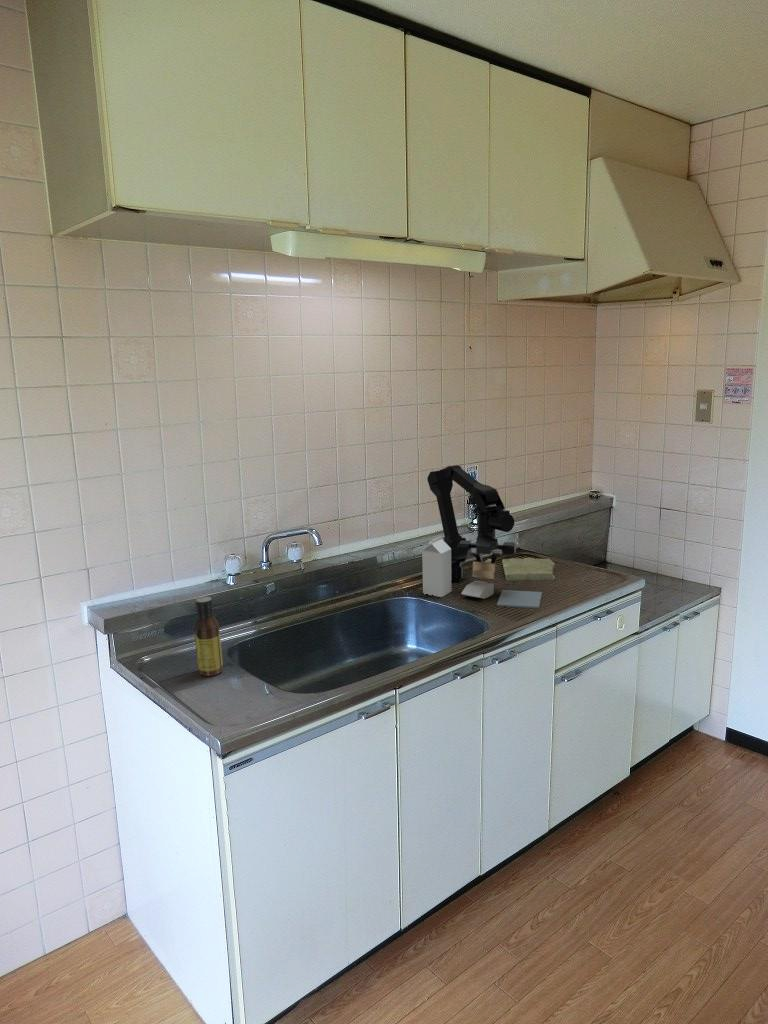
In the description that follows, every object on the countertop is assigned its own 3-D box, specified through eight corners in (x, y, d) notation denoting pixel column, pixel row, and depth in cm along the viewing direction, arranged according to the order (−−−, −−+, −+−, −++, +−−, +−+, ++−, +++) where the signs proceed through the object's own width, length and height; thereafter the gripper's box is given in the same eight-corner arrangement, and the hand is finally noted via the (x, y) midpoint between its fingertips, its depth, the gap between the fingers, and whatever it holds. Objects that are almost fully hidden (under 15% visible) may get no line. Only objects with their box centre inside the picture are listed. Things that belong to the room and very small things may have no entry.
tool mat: (496, 606, 231) (496, 604, 231) (502, 591, 245) (502, 589, 245) (538, 608, 227) (538, 606, 227) (541, 593, 241) (541, 592, 241)
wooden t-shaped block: (472, 576, 241) (472, 562, 240) (481, 569, 251) (482, 555, 250) (493, 579, 238) (493, 564, 237) (501, 571, 248) (502, 557, 247)
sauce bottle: (207, 666, 191) (201, 593, 187) (228, 669, 189) (222, 595, 185) (192, 676, 185) (186, 601, 181) (213, 679, 183) (207, 603, 179)
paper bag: (475, 580, 246) (460, 588, 238) (493, 583, 242) (479, 591, 234) (475, 590, 247) (460, 599, 239) (493, 594, 243) (479, 602, 235)
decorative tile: (505, 581, 257) (505, 572, 257) (502, 566, 277) (502, 556, 276) (559, 582, 255) (559, 572, 255) (552, 566, 275) (552, 556, 274)
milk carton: (451, 591, 246) (451, 537, 242) (441, 597, 240) (440, 541, 237) (433, 588, 250) (432, 534, 246) (422, 594, 244) (421, 539, 240)
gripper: (454, 531, 235) (454, 578, 238) (512, 533, 230) (512, 581, 233) (459, 523, 245) (460, 568, 248) (516, 525, 240) (515, 571, 243)
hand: (486, 572), depth 243 cm, fingers closed on wooden t-shaped block, 3 cm apart
